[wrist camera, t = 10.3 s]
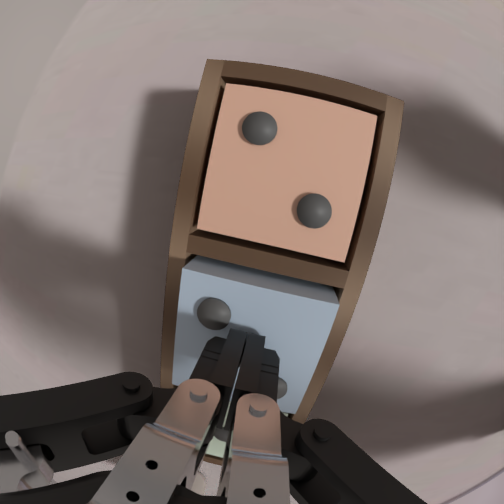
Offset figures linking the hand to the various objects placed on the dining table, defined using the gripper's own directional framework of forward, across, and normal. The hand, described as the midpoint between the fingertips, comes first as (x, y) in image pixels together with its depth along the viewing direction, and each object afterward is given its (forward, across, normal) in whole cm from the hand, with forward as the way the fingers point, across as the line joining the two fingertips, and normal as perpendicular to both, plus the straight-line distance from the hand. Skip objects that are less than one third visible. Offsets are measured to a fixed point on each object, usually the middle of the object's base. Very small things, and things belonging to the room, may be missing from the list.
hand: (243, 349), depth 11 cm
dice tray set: (+6, 0, 0) cm, 6 cm away
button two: (+5, 0, -7) cm, 9 cm away
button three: (+3, 0, 0) cm, 3 cm away
